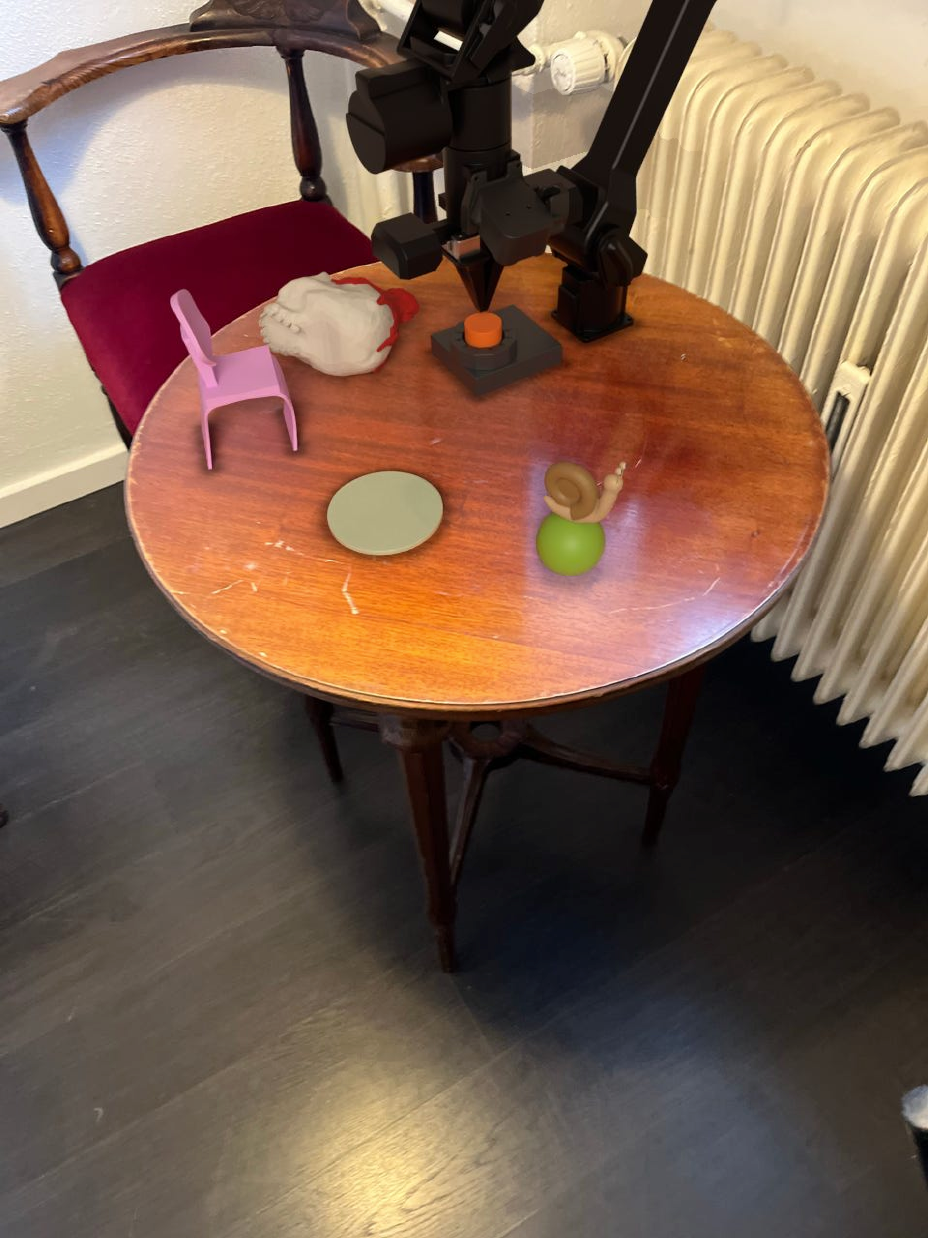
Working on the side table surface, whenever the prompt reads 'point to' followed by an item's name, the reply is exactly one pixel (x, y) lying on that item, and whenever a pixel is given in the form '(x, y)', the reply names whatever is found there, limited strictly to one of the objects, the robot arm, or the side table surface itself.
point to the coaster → (385, 513)
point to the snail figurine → (575, 518)
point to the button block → (498, 353)
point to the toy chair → (229, 370)
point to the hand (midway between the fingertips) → (481, 309)
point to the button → (483, 330)
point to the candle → (336, 323)
